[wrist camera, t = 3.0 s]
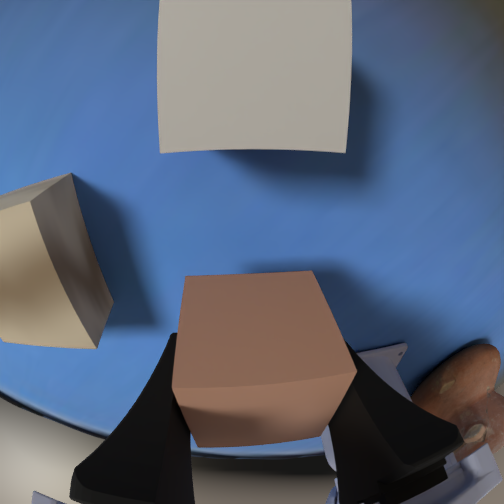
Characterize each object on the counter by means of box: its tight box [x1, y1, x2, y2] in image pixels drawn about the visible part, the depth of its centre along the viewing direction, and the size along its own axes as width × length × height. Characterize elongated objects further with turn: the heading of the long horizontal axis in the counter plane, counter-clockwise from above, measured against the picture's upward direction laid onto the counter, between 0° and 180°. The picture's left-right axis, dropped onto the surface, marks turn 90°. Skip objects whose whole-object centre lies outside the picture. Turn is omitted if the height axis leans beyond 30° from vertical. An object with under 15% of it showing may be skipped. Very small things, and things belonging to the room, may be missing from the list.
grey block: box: [157, 0, 352, 153], centre depth 8 cm, size 5×5×5 cm
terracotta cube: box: [172, 271, 357, 447], centre depth 10 cm, size 5×5×5 cm
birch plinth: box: [0, 173, 114, 349], centre depth 11 cm, size 8×8×4 cm
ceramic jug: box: [410, 344, 504, 462], centre depth 21 cm, size 18×14×14 cm
